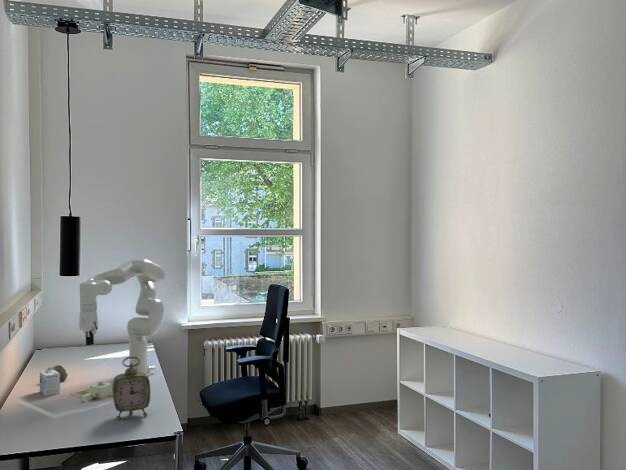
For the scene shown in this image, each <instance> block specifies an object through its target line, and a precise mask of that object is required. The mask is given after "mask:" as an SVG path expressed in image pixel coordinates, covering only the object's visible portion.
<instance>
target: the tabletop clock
mask: <svg viewBox="0 0 626 470" xmlns="http://www.w3.org/2000/svg"><path fill="white" fill-rule="evenodd" d="M130 358H135V359H137V360H138V361H139V362H138V363H137V364H135V365H132V363H131V364H130V365H127V364H125V362H126V360H129V359H130ZM139 363H140V360H139V359H138V358H137V357H129V356H128V357H125V358H124V359H123V361H122V366H124V367H126V369H125V371H124V373H120V374H117V375H115V376H114V379H113V382H112V385H113V398H112V399H113V403H114V408H115V409H116V411H118V412H119V414H118V415H117V416H116V420H118V421H119V420H120V419H121V416H122V415H121V414H122V412H124V413H125V412H128V415H129V416H132V415H133V414H134V413H133V411H142V412H143V414H142V415H143V416H144V417H147V416H148V412H146V411H145V409H146V408H148V407H149V405H150V400H151V384H150V383H151V382H150V379H149V376H147V375H146V374H145V373H143V372H137V370H136V368H134V366H137V365H138V364H139ZM129 367H130V368H129Z"/></svg>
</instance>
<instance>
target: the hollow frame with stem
mask: <svg viewBox="0 0 626 470" xmlns="http://www.w3.org/2000/svg"><path fill="white" fill-rule="evenodd" d="M112 385H113V383H110V382H109V383H108V382H103V386H99V382H97V383H94V384H91V385H89V389H88V390H89V392H90V393H88V394H85V395H82V399H81V402H88V401H89V400H92V399H93V393H96V398H103V397H106V396H109V395H112Z"/></svg>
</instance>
